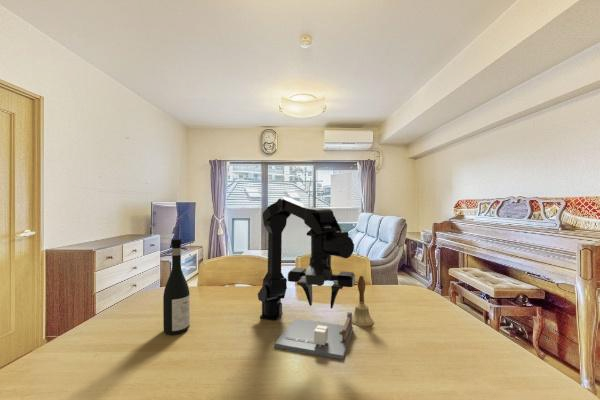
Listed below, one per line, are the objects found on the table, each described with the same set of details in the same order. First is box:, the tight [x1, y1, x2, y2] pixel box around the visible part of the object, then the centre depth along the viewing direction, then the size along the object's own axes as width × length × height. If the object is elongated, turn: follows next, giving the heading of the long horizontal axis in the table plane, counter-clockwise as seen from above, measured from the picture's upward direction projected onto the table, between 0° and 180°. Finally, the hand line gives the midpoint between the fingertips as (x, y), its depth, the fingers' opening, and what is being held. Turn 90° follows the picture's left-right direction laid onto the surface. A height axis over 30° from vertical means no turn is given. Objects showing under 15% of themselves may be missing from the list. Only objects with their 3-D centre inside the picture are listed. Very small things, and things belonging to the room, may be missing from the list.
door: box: [339, 316, 351, 342], centre depth 88 cm, size 2×10×3 cm, turn 161°
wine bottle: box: [162, 238, 191, 335], centre depth 93 cm, size 8×8×30 cm
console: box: [273, 311, 354, 361], centre depth 88 cm, size 20×19×6 cm
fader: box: [314, 325, 328, 345], centre depth 82 cm, size 3×4×4 cm
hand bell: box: [352, 275, 375, 327], centre depth 100 cm, size 8×8×16 cm
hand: (321, 306), depth 82 cm, fingers open, 6 cm apart
